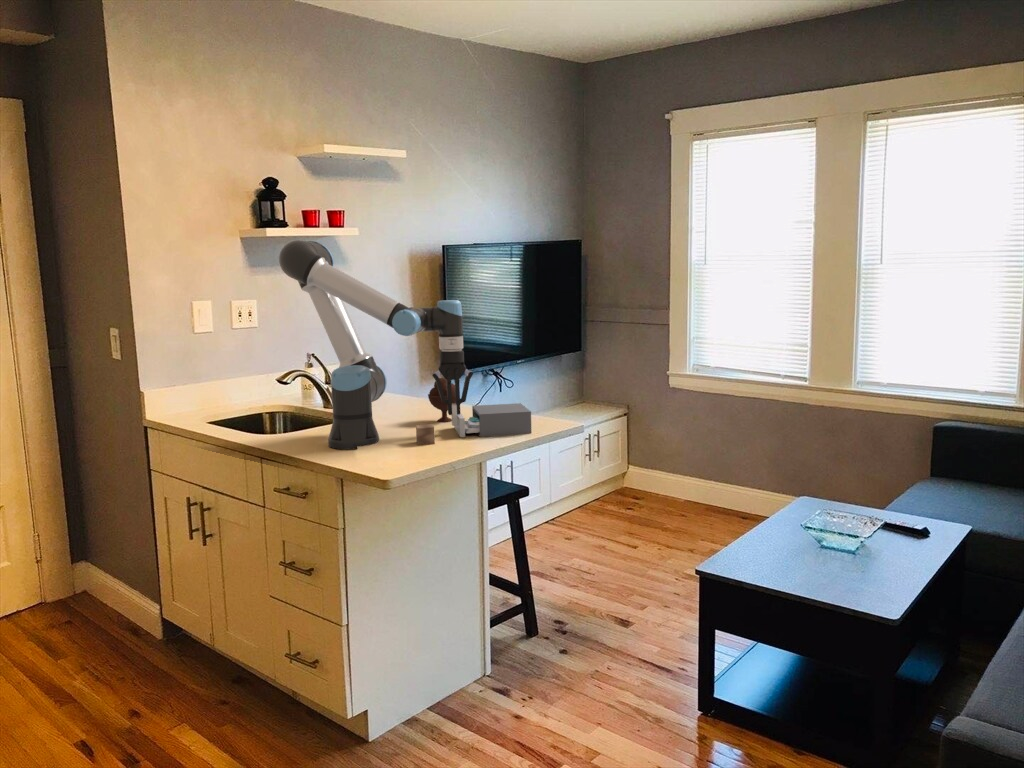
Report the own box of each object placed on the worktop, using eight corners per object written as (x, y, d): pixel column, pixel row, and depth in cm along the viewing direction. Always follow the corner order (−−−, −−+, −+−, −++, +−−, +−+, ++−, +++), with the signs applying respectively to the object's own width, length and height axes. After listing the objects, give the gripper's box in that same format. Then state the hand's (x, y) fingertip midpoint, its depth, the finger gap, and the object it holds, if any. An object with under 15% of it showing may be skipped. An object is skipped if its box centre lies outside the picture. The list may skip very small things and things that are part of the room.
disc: (469, 429, 257) (468, 420, 257) (467, 424, 265) (466, 416, 264) (494, 428, 258) (494, 419, 258) (491, 423, 266) (491, 415, 265)
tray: (460, 437, 252) (459, 418, 251) (454, 427, 268) (453, 409, 268) (511, 434, 255) (511, 415, 254) (502, 424, 271) (502, 407, 270)
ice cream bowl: (422, 423, 278) (420, 379, 276) (440, 418, 287) (438, 375, 285) (449, 425, 273) (447, 380, 271) (466, 420, 282) (465, 376, 280)
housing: (480, 436, 253) (479, 414, 252) (472, 426, 270) (472, 405, 269) (531, 433, 256) (531, 411, 255) (521, 424, 272) (520, 403, 271)
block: (417, 444, 243) (417, 428, 243) (416, 441, 248) (415, 425, 248) (434, 443, 244) (434, 427, 244) (433, 440, 249) (432, 424, 248)
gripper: (431, 352, 252) (434, 428, 255) (473, 350, 254) (476, 425, 257) (429, 350, 259) (432, 424, 262) (470, 348, 261) (473, 421, 264)
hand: (454, 424), depth 260 cm, fingers closed
